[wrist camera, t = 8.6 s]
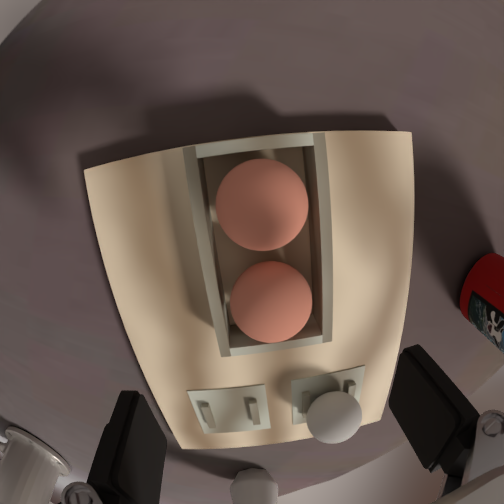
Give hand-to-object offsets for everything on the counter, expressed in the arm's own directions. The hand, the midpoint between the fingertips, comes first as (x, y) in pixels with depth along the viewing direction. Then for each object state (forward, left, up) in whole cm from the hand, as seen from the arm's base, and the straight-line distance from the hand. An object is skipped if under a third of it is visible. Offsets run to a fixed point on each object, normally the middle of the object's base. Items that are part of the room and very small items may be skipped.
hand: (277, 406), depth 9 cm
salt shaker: (-3, -27, -11) cm, 29 cm away
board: (+1, -4, -11) cm, 11 cm away
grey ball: (+5, -11, -9) cm, 15 cm away
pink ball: (+1, +6, -9) cm, 11 cm away
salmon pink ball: (+1, 0, -9) cm, 9 cm away
